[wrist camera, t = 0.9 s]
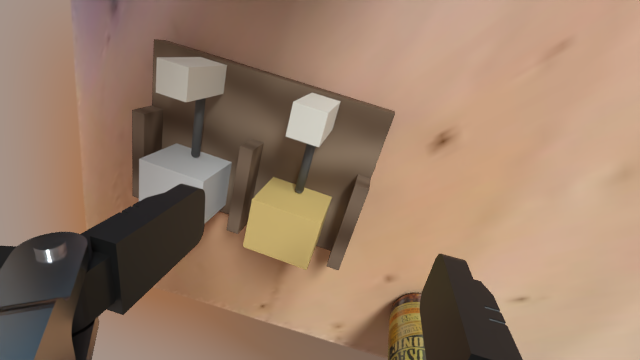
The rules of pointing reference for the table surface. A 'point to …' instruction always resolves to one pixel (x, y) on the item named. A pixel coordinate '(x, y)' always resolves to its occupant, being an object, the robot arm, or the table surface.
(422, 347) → the sauce bottle
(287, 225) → the ochre block
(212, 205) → the white block with handle
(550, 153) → the table surface
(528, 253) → the table surface
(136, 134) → the lane rack
